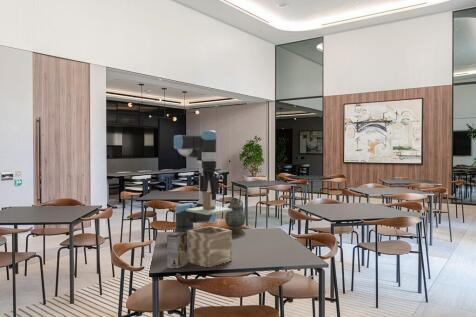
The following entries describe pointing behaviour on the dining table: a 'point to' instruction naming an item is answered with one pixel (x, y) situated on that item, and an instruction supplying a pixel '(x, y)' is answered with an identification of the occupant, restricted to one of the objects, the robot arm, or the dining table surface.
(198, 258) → the box
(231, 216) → the dark green urn
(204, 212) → the lid
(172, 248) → the coffee box
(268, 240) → the dining table surface
